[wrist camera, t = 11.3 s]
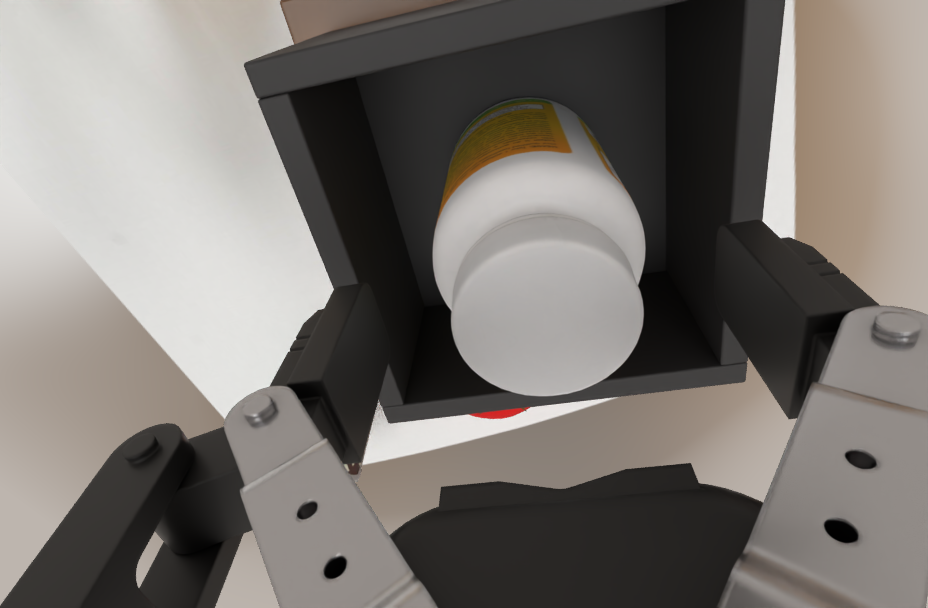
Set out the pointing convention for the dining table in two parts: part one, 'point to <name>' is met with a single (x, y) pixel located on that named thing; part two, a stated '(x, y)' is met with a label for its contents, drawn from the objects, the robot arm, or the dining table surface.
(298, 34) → the stand
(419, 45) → the dark grey open box
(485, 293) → the supplement bottle
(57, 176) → the dining table surface
